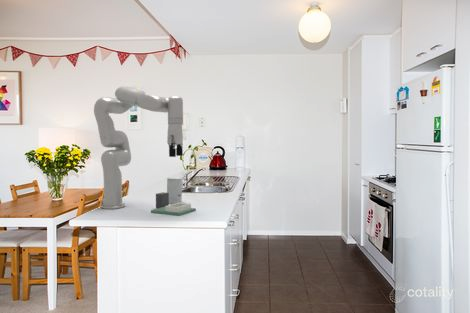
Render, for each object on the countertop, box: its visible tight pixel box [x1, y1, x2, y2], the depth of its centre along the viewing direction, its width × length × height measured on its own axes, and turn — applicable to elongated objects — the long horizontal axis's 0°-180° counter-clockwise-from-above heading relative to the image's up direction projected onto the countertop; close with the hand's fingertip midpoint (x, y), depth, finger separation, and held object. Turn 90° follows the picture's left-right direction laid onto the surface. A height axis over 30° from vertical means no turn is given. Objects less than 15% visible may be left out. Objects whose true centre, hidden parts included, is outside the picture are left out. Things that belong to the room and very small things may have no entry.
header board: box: [150, 202, 197, 217], centre depth 194 cm, size 18×14×4 cm
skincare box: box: [166, 177, 183, 205], centre depth 219 cm, size 8×6×15 cm
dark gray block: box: [155, 192, 170, 209], centre depth 205 cm, size 4×7×8 cm, turn 152°
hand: (176, 156), depth 189 cm, fingers open, 9 cm apart
